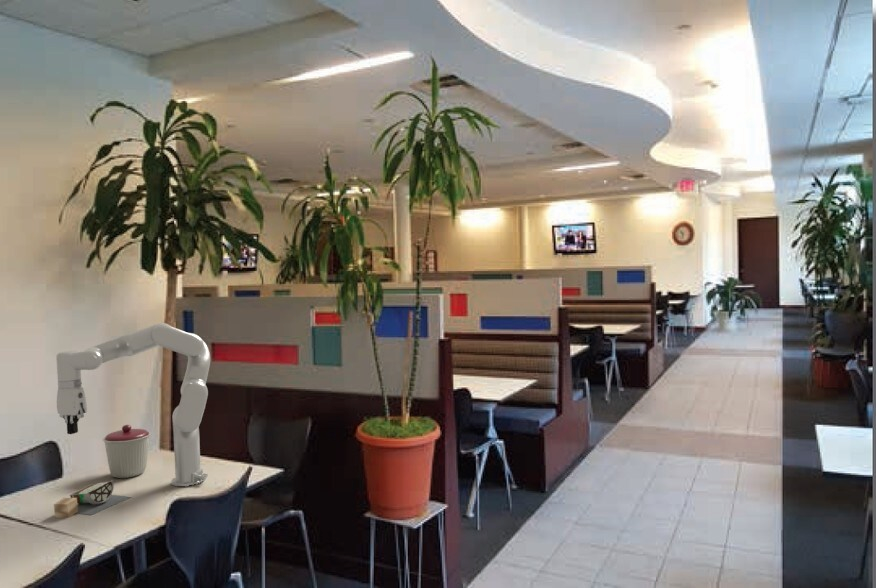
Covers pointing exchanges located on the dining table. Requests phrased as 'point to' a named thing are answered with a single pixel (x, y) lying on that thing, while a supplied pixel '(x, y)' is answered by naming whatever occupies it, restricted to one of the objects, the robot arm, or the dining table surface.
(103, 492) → the food container
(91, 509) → the mat
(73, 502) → the oak block
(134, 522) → the dining table surface
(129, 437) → the canister
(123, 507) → the dining table surface
